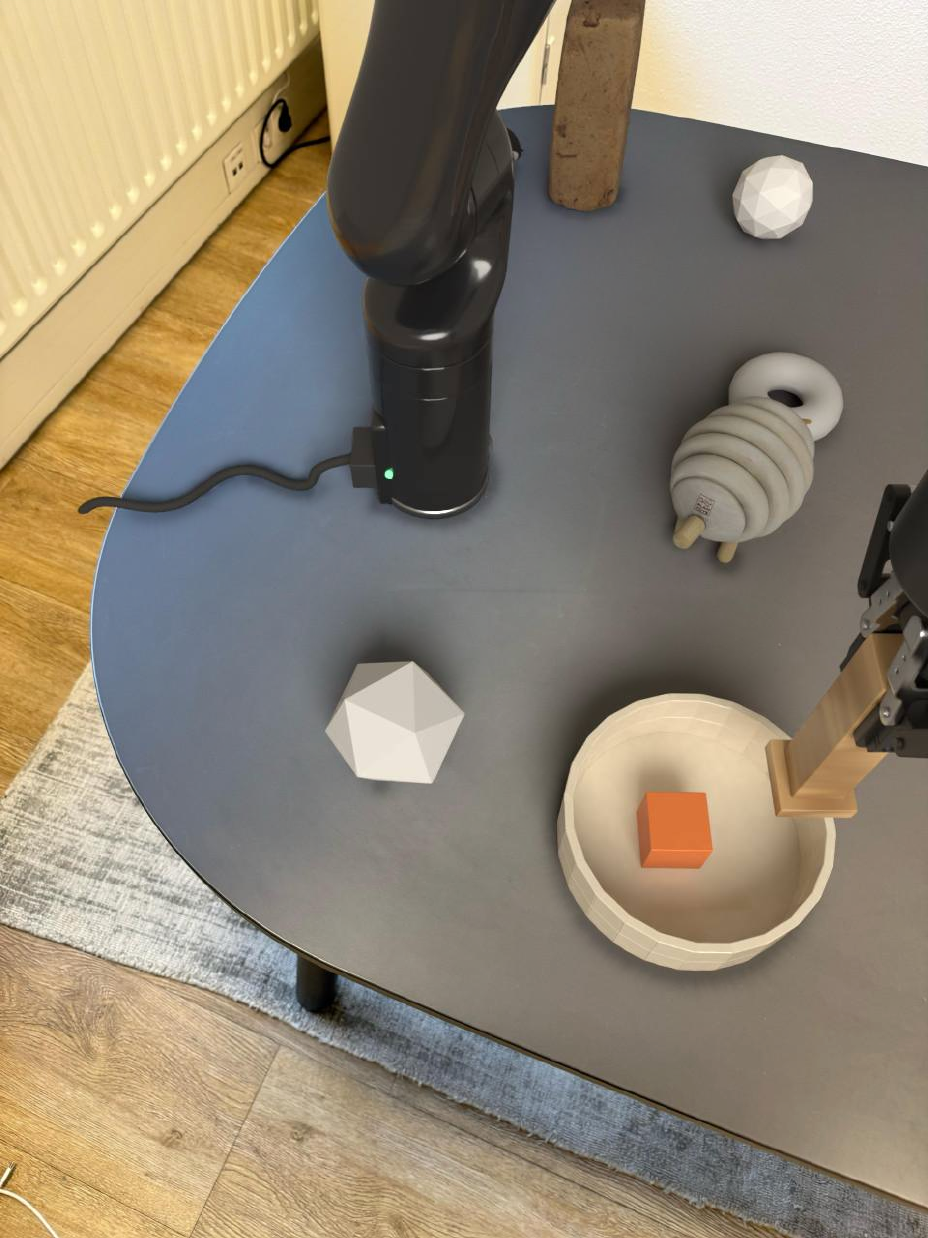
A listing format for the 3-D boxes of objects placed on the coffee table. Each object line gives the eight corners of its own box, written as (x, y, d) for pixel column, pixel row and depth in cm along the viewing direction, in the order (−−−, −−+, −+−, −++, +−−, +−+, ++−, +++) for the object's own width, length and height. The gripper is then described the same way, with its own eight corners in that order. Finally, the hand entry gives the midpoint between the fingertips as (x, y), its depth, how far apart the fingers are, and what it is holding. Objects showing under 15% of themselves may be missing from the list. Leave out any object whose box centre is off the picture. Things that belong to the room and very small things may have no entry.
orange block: (640, 868, 66) (650, 850, 62) (636, 811, 68) (645, 791, 64) (699, 869, 66) (713, 851, 62) (693, 812, 68) (706, 792, 64)
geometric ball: (765, 241, 103) (822, 176, 99) (776, 266, 97) (838, 198, 93) (711, 197, 101) (767, 129, 97) (720, 220, 95) (780, 148, 91)
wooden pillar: (775, 817, 56) (870, 704, 43) (764, 746, 58) (851, 619, 45) (851, 818, 56) (969, 705, 43) (837, 747, 58) (945, 620, 45)
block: (612, 222, 101) (643, 22, 83) (541, 211, 101) (557, 11, 84) (626, 159, 106) (659, -41, 89) (559, 149, 107) (578, -51, 90)
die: (424, 674, 75) (333, 625, 68) (506, 708, 68) (416, 658, 61) (376, 775, 74) (278, 737, 66) (454, 819, 67) (356, 782, 60)
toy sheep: (819, 482, 83) (865, 390, 74) (734, 623, 76) (773, 541, 67) (708, 430, 86) (739, 335, 77) (616, 561, 79) (638, 474, 70)
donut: (847, 453, 85) (822, 369, 90) (861, 428, 82) (835, 341, 87) (734, 456, 85) (715, 371, 90) (744, 430, 82) (724, 344, 87)
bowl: (561, 970, 63) (570, 951, 58) (552, 727, 72) (559, 691, 66) (826, 974, 63) (859, 955, 58) (785, 730, 72) (810, 694, 66)
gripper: (893, 348, 37) (770, 589, 52) (991, 674, 30) (815, 845, 45) (1089, 350, 37) (910, 590, 52) (1233, 677, 30) (977, 847, 45)
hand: (867, 707), depth 48 cm, fingers closed on wooden pillar, 3 cm apart
